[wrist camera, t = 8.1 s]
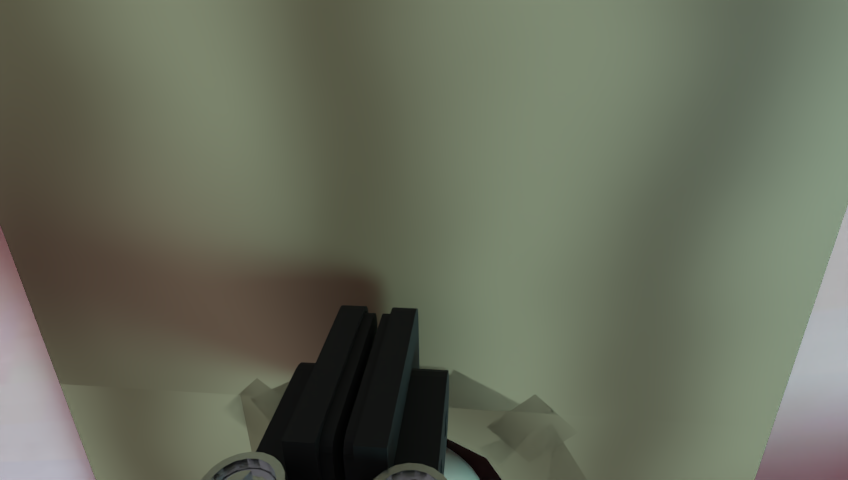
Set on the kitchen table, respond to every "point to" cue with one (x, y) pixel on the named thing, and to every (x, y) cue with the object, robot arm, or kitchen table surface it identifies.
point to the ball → (457, 467)
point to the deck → (428, 215)
